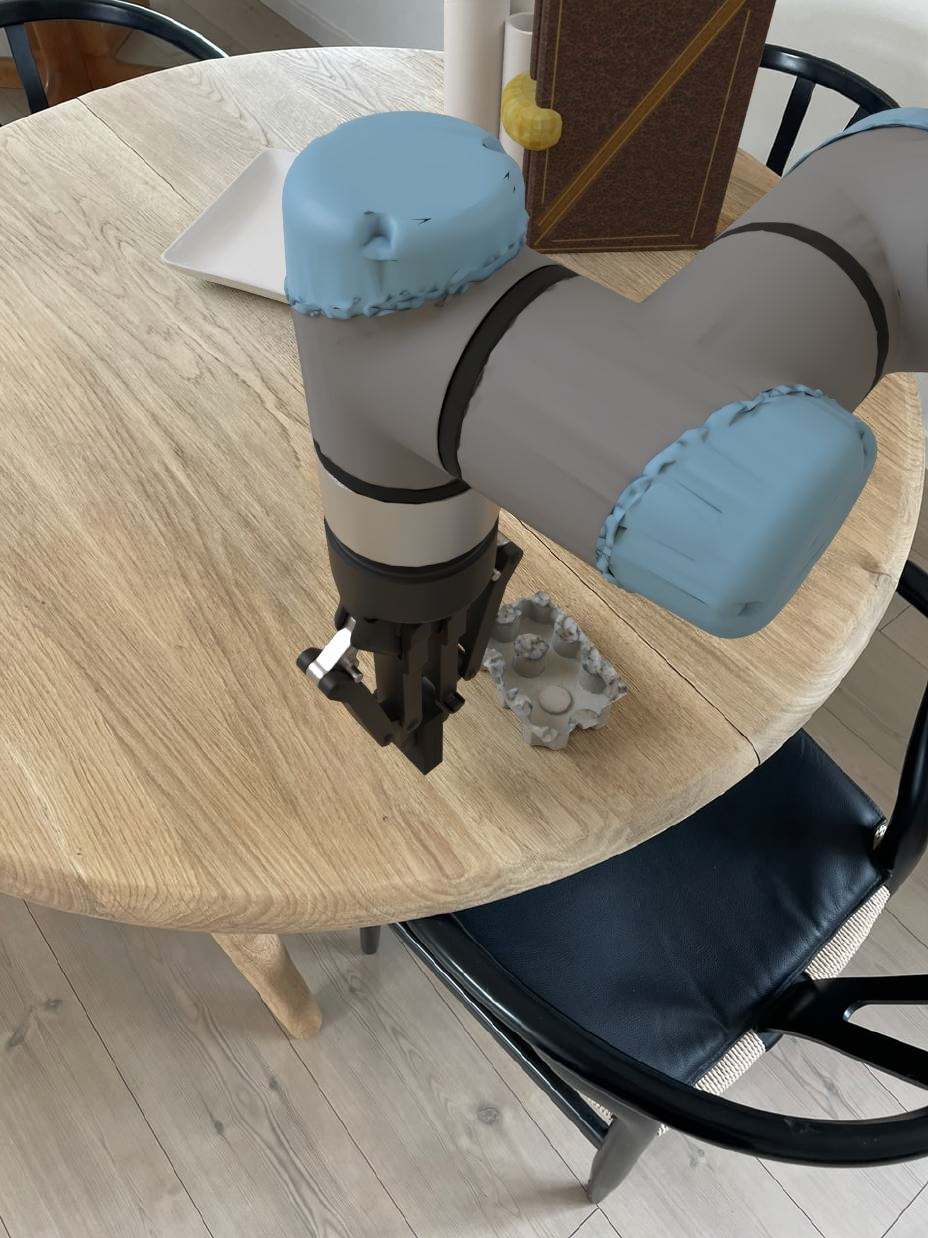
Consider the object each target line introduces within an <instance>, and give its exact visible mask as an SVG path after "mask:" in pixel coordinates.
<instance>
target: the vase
mask: <svg viewBox="0 0 928 1238" xmlns="http://www.w3.org/2000/svg"><path fill="white" fill-rule="evenodd" d="M534 4H535V0H443V115H448V116H452V117H456V118H459V119H462V120H465V121H467V122H470V123H472V124H474V125H477V126H479V127H481V128H483V129H484V130H486V131H488V132H489V133H491V134H492V135H494V136H495V137H496V138H497V139H499V140H500V142H501V144H502V146H503V148H504V150H505V151H506V153H507V154H508V155H509V156H511V157H512V158H513V159H514V160H515V161H516V162H517V164H518V165H519V167H520V169H521V171H522V167H523V153H524V147H522V146H521V145H519V144H518V143H516V142H515V141H514V140H512V139H511V138H510V137H509V136H508V134H507V133H506V132H505V129H504V127H503V124H502V120H501V100H502V94H503V92H504V89H505V87H506V85H507V83H508V82H509V81H510V80H511V79H513V78H514V77H515V76H517V75H518V74H520V73H523V72H525V71H530V58H531V45H532V31H533V18H534Z"/></svg>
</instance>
